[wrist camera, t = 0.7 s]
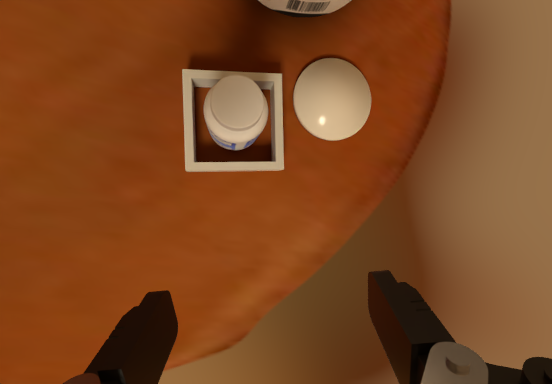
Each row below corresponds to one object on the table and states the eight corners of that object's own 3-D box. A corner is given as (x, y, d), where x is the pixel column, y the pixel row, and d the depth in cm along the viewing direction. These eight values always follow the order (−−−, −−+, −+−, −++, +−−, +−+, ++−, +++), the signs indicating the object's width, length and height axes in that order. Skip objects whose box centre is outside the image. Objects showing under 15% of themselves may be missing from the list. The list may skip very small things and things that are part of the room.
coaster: (293, 140, 32) (294, 139, 31) (292, 58, 32) (293, 55, 31) (369, 140, 34) (371, 140, 33) (368, 62, 33) (370, 60, 33)
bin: (188, 171, 30) (185, 170, 28) (185, 78, 30) (182, 69, 27) (279, 170, 32) (283, 169, 29) (277, 82, 31) (281, 73, 29)
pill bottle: (253, 96, 31) (266, 58, 22) (263, 146, 31) (281, 130, 22) (202, 105, 30) (192, 68, 21) (214, 155, 31) (209, 143, 21)
